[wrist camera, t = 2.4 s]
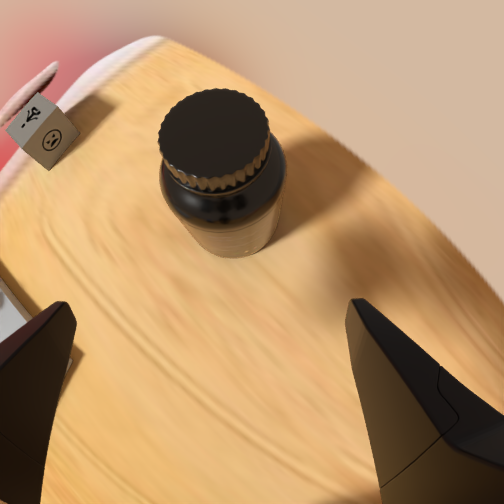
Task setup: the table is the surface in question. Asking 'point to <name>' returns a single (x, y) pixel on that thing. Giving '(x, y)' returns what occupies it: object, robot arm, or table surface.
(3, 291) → the v cradle
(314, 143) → the table surface
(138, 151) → the table surface
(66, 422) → the table surface
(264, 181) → the supplement bottle
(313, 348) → the table surface
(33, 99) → the dice cube
